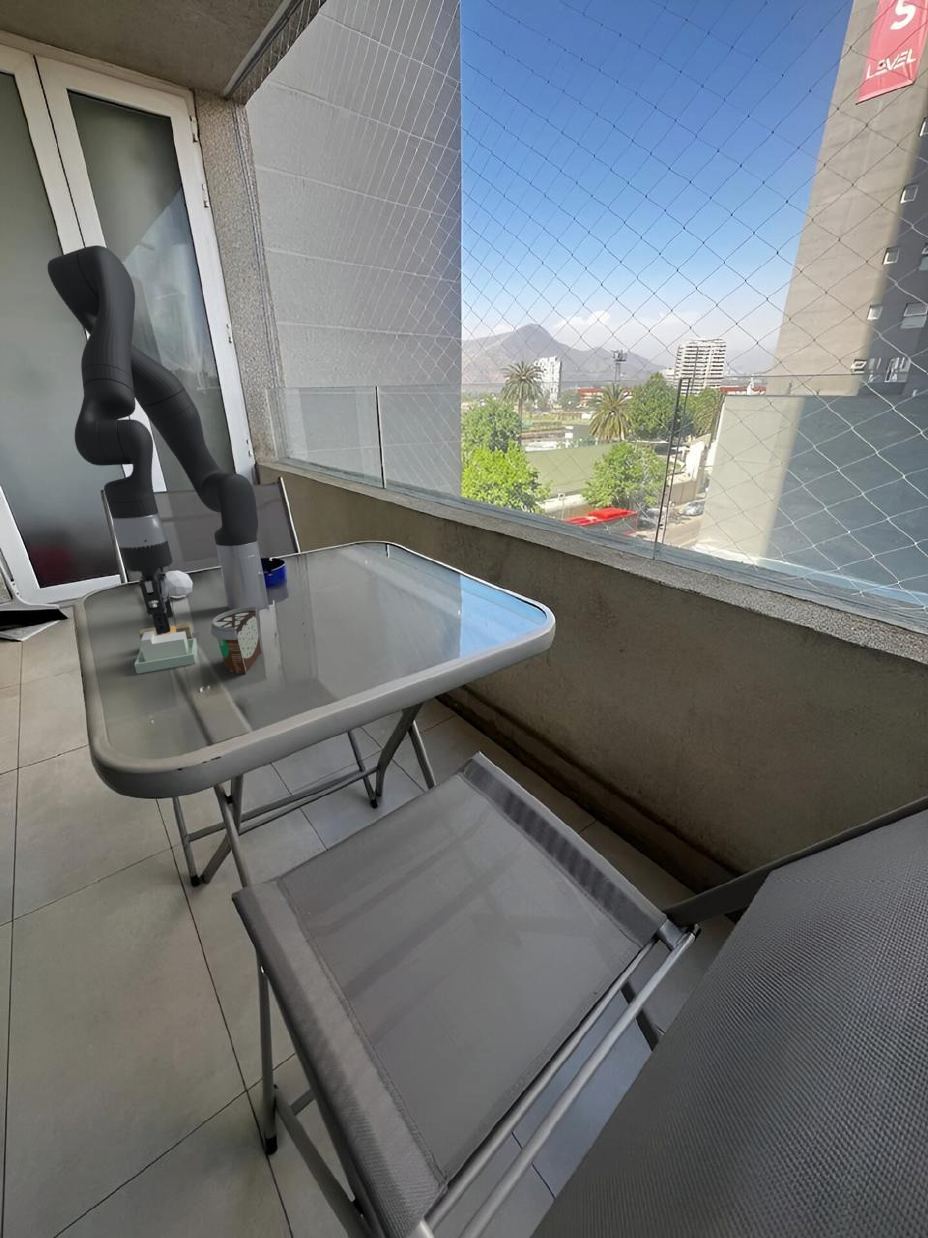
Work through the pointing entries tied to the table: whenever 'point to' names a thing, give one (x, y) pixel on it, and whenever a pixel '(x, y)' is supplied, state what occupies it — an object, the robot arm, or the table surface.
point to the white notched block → (164, 645)
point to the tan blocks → (179, 628)
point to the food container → (238, 638)
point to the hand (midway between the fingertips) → (165, 624)
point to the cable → (172, 630)
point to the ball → (179, 583)
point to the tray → (167, 660)
